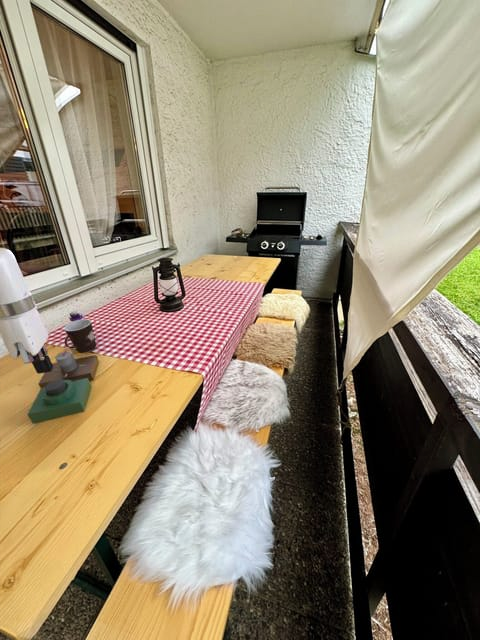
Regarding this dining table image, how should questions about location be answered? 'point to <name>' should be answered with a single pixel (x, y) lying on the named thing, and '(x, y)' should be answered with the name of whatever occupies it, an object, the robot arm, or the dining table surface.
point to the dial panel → (82, 371)
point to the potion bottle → (75, 316)
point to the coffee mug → (81, 335)
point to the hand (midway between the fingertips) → (45, 370)
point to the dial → (66, 361)
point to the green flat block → (61, 402)
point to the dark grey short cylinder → (56, 387)
